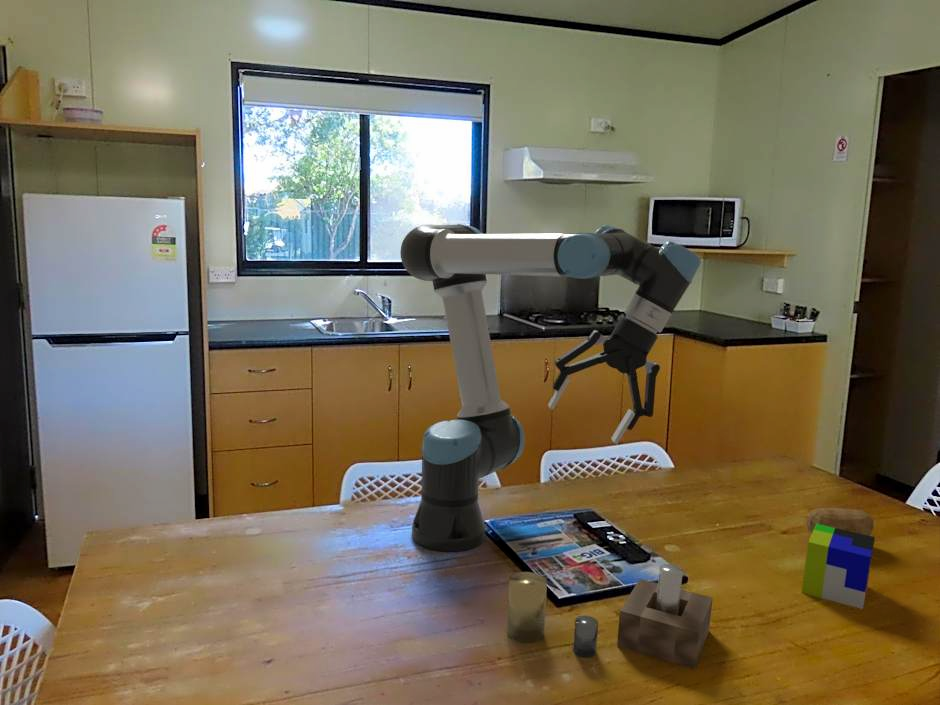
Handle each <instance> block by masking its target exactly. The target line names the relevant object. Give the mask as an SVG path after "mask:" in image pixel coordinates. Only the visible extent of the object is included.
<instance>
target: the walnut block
mask: <svg viewBox="0 0 940 705" xmlns="http://www.w3.org/2000/svg"><path fill="white" fill-rule="evenodd" d="M657 592H658V582H654V581H650V580H646V579H641V578H640V579H638V581H637V583H636V584H635V586H634V587H633V589H632V591H631V592H630V593H629V595H628V597H627V599H626V600H625V602H624V603H623V605H622V606H621V608H620V610H619V620H618V630H617V640H616V646H617V647H620V648H622V649H627V650H630V651H633V652H637V653H640V654H643V655H647V656H650V657H653V658H656V659H659V660H663V661H667V662H668V663H669V662H670V663H673V664H677V665H680V666H683V667H686V668H689V669H692V670H696V667H697V664H698V662H699V659H700V656H701V654H702V651H703V648H704V645H705V644H706V640H707V638H708V635H709V633H710V626H711V616H712V608H713V599H714V598H713V597H712V596H708V595H705V594H704V595H703V594H700V593H698V592H697V593H696V592H693V591H689V590H685V589H682V588H681V593H680V603H679V613H678V616H677V615H673V614H669V613H666V612H662V611H658V610H656V603H657Z"/></svg>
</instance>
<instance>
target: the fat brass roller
mask: <svg viewBox="0 0 940 705" xmlns="http://www.w3.org/2000/svg"><path fill="white" fill-rule="evenodd" d="M547 586H548V581H547V579H546V578H545V577H544V576H543V575H541V574H538V573H537V572H530V571H521V572H515V573H514V574H512V575H510V576H509V579H508V593H507V594H508V596H507V597H508V598H507V615H506V616H507V617H506V634H507V636H508V637H509V639H511V640H513V641H515V642H517V643H522V644H533V643H534V644H535V643H537V642H540V641H541V640H543V638H544V636H545V624H546V623H545V621H546V605H547V590H548V589H547Z"/></svg>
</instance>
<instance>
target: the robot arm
mask: <svg viewBox="0 0 940 705" xmlns="http://www.w3.org/2000/svg"><path fill="white" fill-rule="evenodd" d="M400 245H401V246H400V259H401V263H402V264H403V267H404V269H405V270H406V272H407V273H409V275H410V276H412V277H413V278H415V279H418V280H420V281H425V282H432V286H433V291H434V293H435V294H437V295H438V296H439V297H441V298H442V301H443V308H444V313H445V319H446V324H447V329H448V335H449V341H450V346H451V352H452V357H453V361H454V369H455V373H456V378H457V379H456V380H457V384H458V385H457V386H458V390H459V395H460V400H461V408H460V410H459V411H458V412H457V413H456V417H457V419H451V420H443V421H438V422H436V423H434V424H432V425H430V426H429V427H428V428H427V429H426V430H425V432H424V434H423V438H422V439H423V440H422V446H421V454H422V456H421V496H420V502H419V505H418V507H417V510H416V512H415V516H414V518H413V521H412V525H411V538H412V540H413V541H414V542H415V543H416V544H417V545H419V546H421V547H424V548H426V549H430V550H433V551H434V550H435V551H441V552H461V551H466V550H471V549H473V548H476V547H477V546H478V547H479V545H481V544H482V543H483V542H484V540H485V537H486V525H485V521H484V518H483V515H482V512H481V511H482V510H481V508H480V505H479V484H480V483H479V480H481V479H483V478H484V477H486V476H489V475H491V474H494V473H496V472H498V471H501V470H504V469H507V468H508V467H509V466H510V465H511V464H513V463H515V462H516V461H517V460H518V459H519V458H520V456H521V455H522V453H523V451H524V448H525V440H526V438H525V430H524V428H523V426H522V424H521V422H520V421H519V420H517V418H516V417H515V416H514V415H513V414H511V410H510V405H509V404H508V403H506V402H505V401H504V400H502V398H501V393H500V386H499V381H498V377H497V376H498V375H497V370H496V366H495V359H494V355H493V348H492V343H491V342H492V341H491V337H490V336H491V335H490V331H489V325H488V320H487V315H486V308H485V303H484V298H483V292H482V291H483V289H484V288H485V286H486V285H487V283H488V280H487V275H497V276H498V275H501V276H502V275H503V276H505V275H506V276H539V277H543V276H544V277H568V278H569V277H570V278H575V279H579V280H586V279H587V280H588V279H593V278H596V277H597V278H598V277H606V276H619V277H621V278H623V279H625V280H628V281H629V282H631V283H633V284H635V285H638V287H637V289H636V291H635V294H634V295H633V296H632V298H631V300H630V301H629V303H628V305H627V306H626V308H625V310H624V314H625V316H622V317H620V318H619V320H618V321H617V324H616V325H615V327H614V329H613V330H612V332H611V333H610V335H609V336H608V337H605V336H604V335H603V334H601V332H599V331H598V330H596V329H594V330H593V331H592V332H591V333H590V335H589V336H588V337H587V338H586V339H584V340H583V341H582V342H581V343H579V344H577V345H576V346H574V347H573V348H572V349H570V350H569V351H567V352H566V353H564V354H563V355H561V356H560V357H558V358H557V359H555V360H554V365H555V367H556V368H557V369H558V370H559V373H558V375H557V377H556V379H555V381H554V382H553V384H552V388H553V390H555V392H554V393H553V395H552V397H551V399H550V401H549V402H548V404H547V405H548V409H550V410H552V411H553V410H554V409H555V407H556V405H557V403H558V402H559V401H560V400H561V399H560V398H561V396H562V395H563V393H564V392H565V390H566V388H567V386H568V385H569V384H570V381H571V378H570V375H572V374H576V373H578V372H581V371H583V370H586V369H589V368H591V367H593V366H596V365H599V364H603V363H606V365H607V366H609V367H610V368H612V369H616V370H617V371H618V372H619V373H621V374H623V375H624V374H626V376H627V381H628V385H629V391H630V398H631V403H632V408H633V410H632V409H629V408H628V409H627V412H626V413H625V415H624V416H623V417H622V420H621V421H620V423H619V424H618V426H617V428H616V429H615V431H614V433H613V435H612V436H611V441H612V442H613V443H614V444H615V445H618V444H619V442H620V440H621V438H622V437H623V436H624V433H625V432H626V431H627V430H629V431H631V430H633V428H634V427H635V426H636V424H637V422H638V420H639V419H640V417H644V416H645V417H648V418H651V417H653V415H654V407H655V406H654V405H655V396H656V395H655V394H656V383H657V382H656V380H657V376H658V373H659V372H660V369H661V366H660V365H659V364H658V363H656V362H654V361H650V360H648V358H647V357H648V355H649V354H650V352H651V350H652V348H653V347H654V345H655V343H656V341H657V339H658V334H657V333H662V332H663V329H664V328H665V326H666V324H667V323H668V321H669V320H670V318H671V316H672V314H673V313H674V310H675V309H676V307H677V306H678V304H679V302H680V301H681V299H682V298H683V295H684V294H685V293H686V291H687V289H688V288H689V286H690V284H692V282H693V279H694V277H695V275H696V273H697V271H698V269H699V267H700V265H701V259H700V257H699V256H698V255H697V253H695V252H694V251H692V250H690V249H688V248H686V247H685V246H683V245H681V244H679V243H676V242H673V241H671V240H668V241H665V242H664V243H663V245H661V246H660V247H658V246H657V247H655V245H651V244H649V243H647V242H645V241H644V240H642V239H640V238H638V237H636V236H634V235H632V234H630V233H628V232H627V231H625V230H624V229H622V228H617V227H615V226H612V225H610V224H604V225H602V226H601V227H600V228H597V229H596V231H595V232H594V233H593V232H578V233H483V232H482V231H480V230H479V229H478V228H476V227H474V226H470V225H465V224H459V223H457V224H424V225H420V226H417V227H415V228H413V229H412V230H410V231H409V232H408V233H407V234H406V235H405V236H404V238H403V240H402V242H401V244H400ZM600 344H603V345H602V346H603V350H602V351H601V352H599V353H596V354H595V355H591V356H590V357H587V358H584V359H582V360H581V359H580V360H579V361H577V362H573V363H571V364H569V363H570V362H572V361H573V360H575V359H576V358H577V357H579V356H580V355H582V354H583V353H585V352H587V351H588V350H589V349H591V348H592V347H594V345H596V346H599V345H600ZM567 364H568V365H567ZM643 367H644V370H645V372H646V376H645V386H644V387H645V389H644V401H643V402H644V403H643V404H642V399H641V394H640V389H639V387H640V386H639V383H638V374H637V370H638V369H640V368H643Z"/></svg>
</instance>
